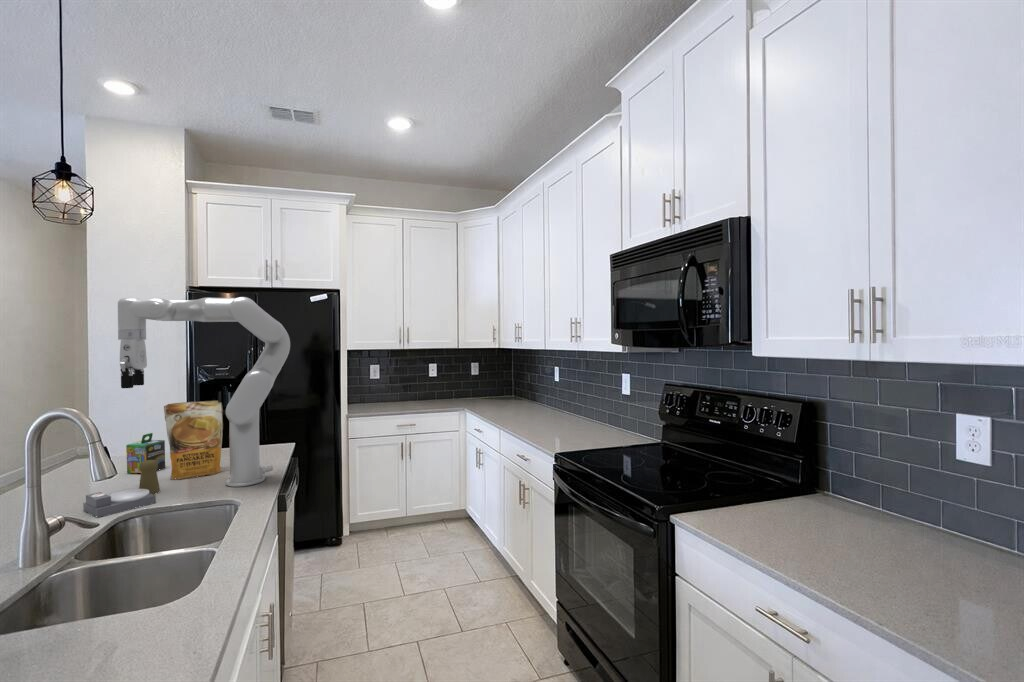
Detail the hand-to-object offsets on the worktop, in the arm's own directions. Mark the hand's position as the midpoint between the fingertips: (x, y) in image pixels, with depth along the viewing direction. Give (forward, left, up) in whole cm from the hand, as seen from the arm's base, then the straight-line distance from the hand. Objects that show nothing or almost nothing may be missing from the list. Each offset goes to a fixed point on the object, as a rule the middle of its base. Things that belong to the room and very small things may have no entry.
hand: (132, 386), depth 169 cm
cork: (-3, +3, -36) cm, 37 cm away
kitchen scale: (+8, +11, -36) cm, 39 cm away
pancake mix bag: (-22, -6, -36) cm, 43 cm away
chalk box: (-15, -30, -37) cm, 50 cm away
